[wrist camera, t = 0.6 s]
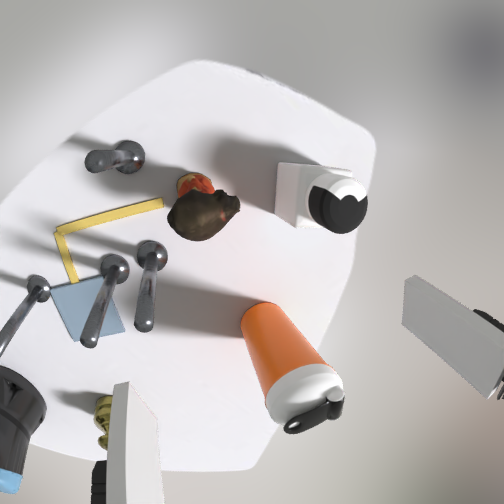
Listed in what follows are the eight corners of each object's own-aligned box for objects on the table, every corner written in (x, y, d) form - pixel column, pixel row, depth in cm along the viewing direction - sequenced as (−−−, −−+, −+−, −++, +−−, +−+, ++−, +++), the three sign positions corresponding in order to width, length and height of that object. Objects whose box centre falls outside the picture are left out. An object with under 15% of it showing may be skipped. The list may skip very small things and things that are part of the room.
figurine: (195, 161, 34) (206, 165, 23) (227, 191, 36) (252, 210, 25) (160, 199, 34) (155, 221, 23) (193, 227, 36) (203, 262, 25)
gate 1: (35, 302, 33) (-8, 371, 19) (25, 278, 32) (-27, 341, 17) (133, 278, 36) (117, 355, 22) (124, 251, 35) (98, 317, 20)
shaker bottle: (226, 309, 42) (268, 415, 23) (282, 287, 43) (353, 376, 25) (243, 351, 45) (286, 451, 27) (294, 331, 46) (355, 418, 28)
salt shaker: (90, 395, 41) (82, 437, 32) (126, 393, 42) (124, 438, 33) (104, 419, 43) (100, 459, 34) (138, 418, 45) (139, 459, 36)
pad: (75, 339, 37) (74, 341, 36) (51, 288, 33) (49, 290, 33) (125, 329, 38) (124, 331, 38) (103, 275, 35) (102, 277, 34)
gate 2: (142, 273, 36) (130, 347, 22) (111, 145, 30) (65, 142, 16) (170, 266, 37) (173, 338, 23) (142, 137, 31) (117, 125, 16)
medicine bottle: (320, 215, 41) (370, 240, 30) (273, 215, 39) (314, 241, 28) (324, 166, 38) (379, 175, 27) (277, 161, 36) (321, 168, 25)
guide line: (72, 283, 34) (72, 284, 34) (53, 228, 31) (52, 228, 31) (176, 258, 37) (176, 259, 37) (161, 197, 34) (161, 197, 34)
